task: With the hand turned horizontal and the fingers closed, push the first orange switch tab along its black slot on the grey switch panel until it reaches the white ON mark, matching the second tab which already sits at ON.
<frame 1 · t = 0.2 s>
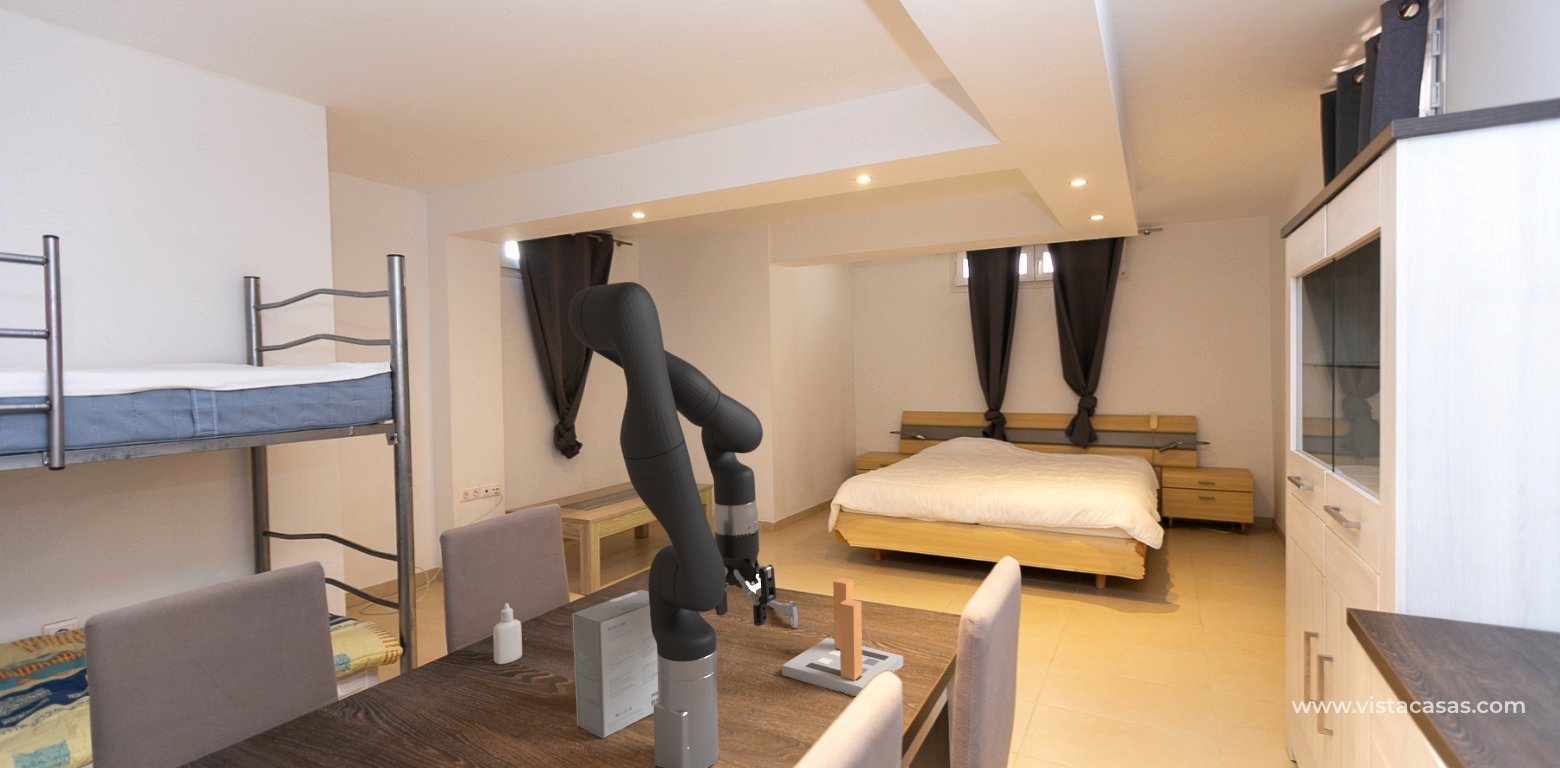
hand: (740, 619, 124), 18 cm above the table, tool pointing down, fingers open, 8 cm apart
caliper: (780, 616, 177), on the table
hard drive box: (625, 716, 127), on the table
switch tab 2: (843, 613, 150), point 9 cm above the table, slide at 8.0 cm
switch panel: (843, 670, 144), on the table
eye dropper bottle: (508, 660, 152), on the table
switch tab 1: (850, 639, 137), point 9 cm above the table, slide at 0.0 cm
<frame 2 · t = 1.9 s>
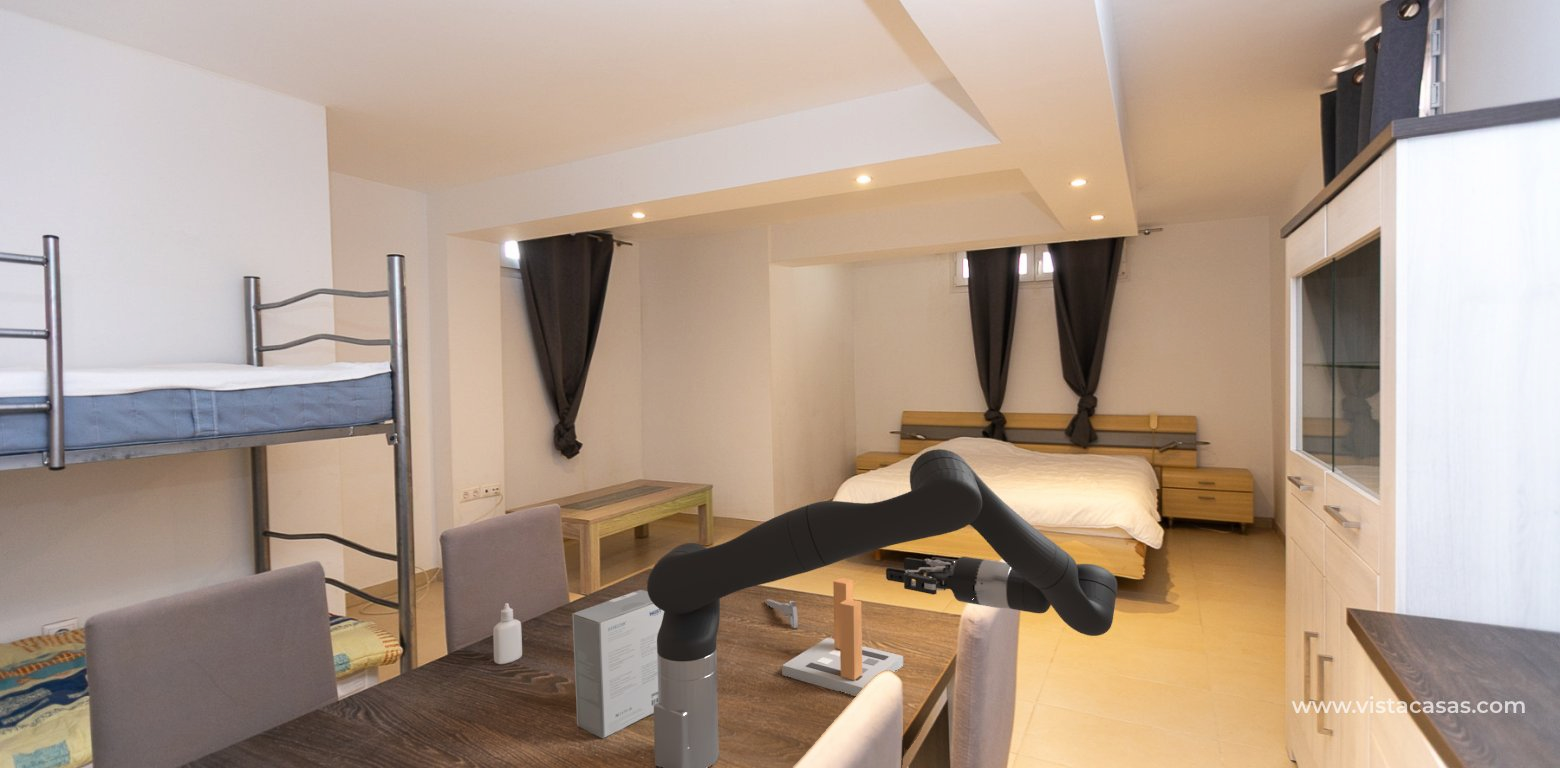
hand: (896, 568, 131), 24 cm above the table, tool horizontal, fingers open, 6 cm apart
nothing on the table moved.
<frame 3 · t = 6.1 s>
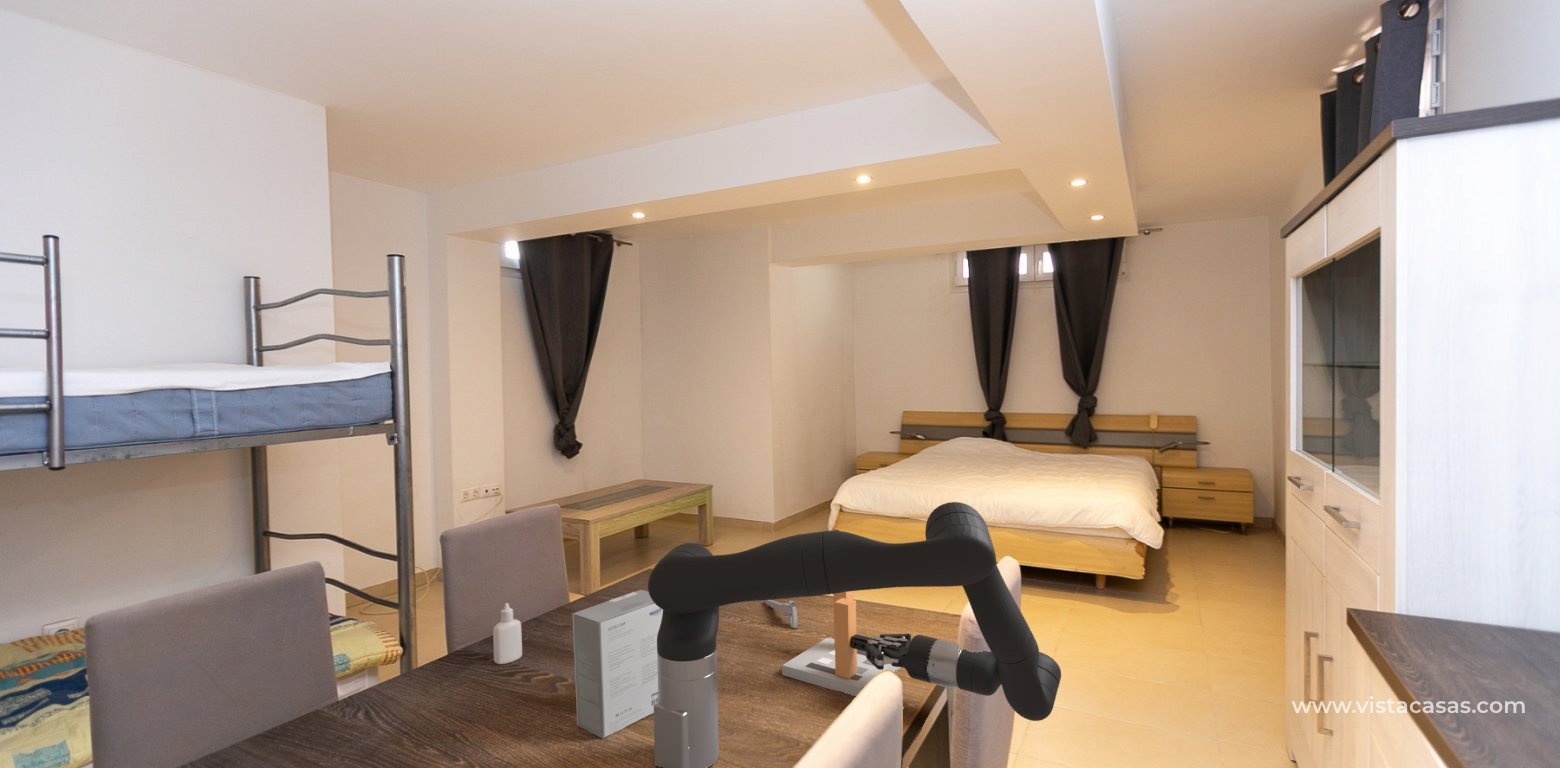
hand: (852, 640, 136), 9 cm above the table, tool horizontal, fingers closed
switch tab 1: (845, 637, 137), point 9 cm above the table, slide at 1.2 cm, touching gripper
everything else where it was.
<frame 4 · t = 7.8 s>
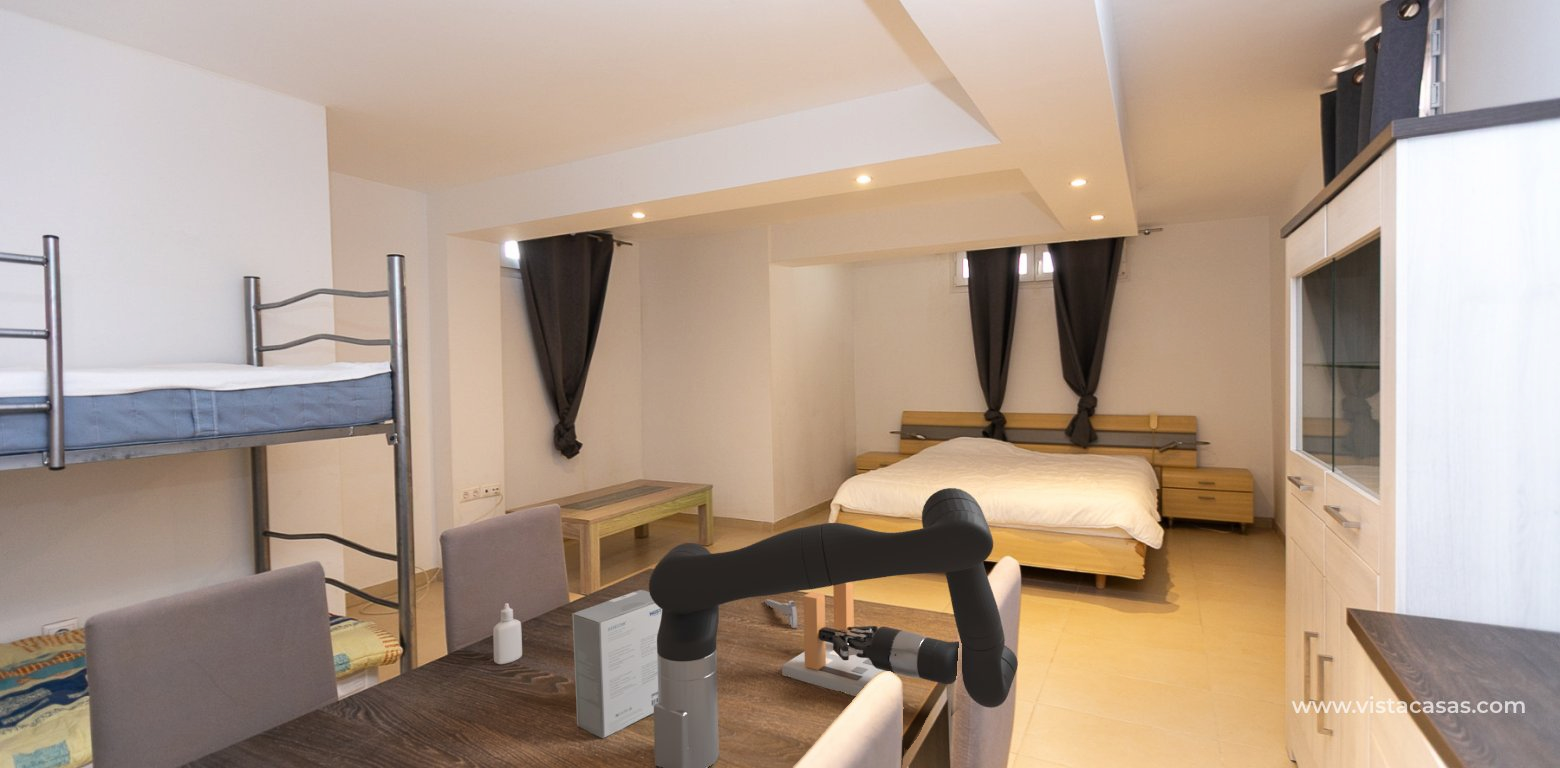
hand: (821, 633, 140), 9 cm above the table, tool horizontal, fingers closed
switch tab 1: (814, 630, 141), point 9 cm above the table, slide at 8.1 cm, touching gripper
everything else where it was.
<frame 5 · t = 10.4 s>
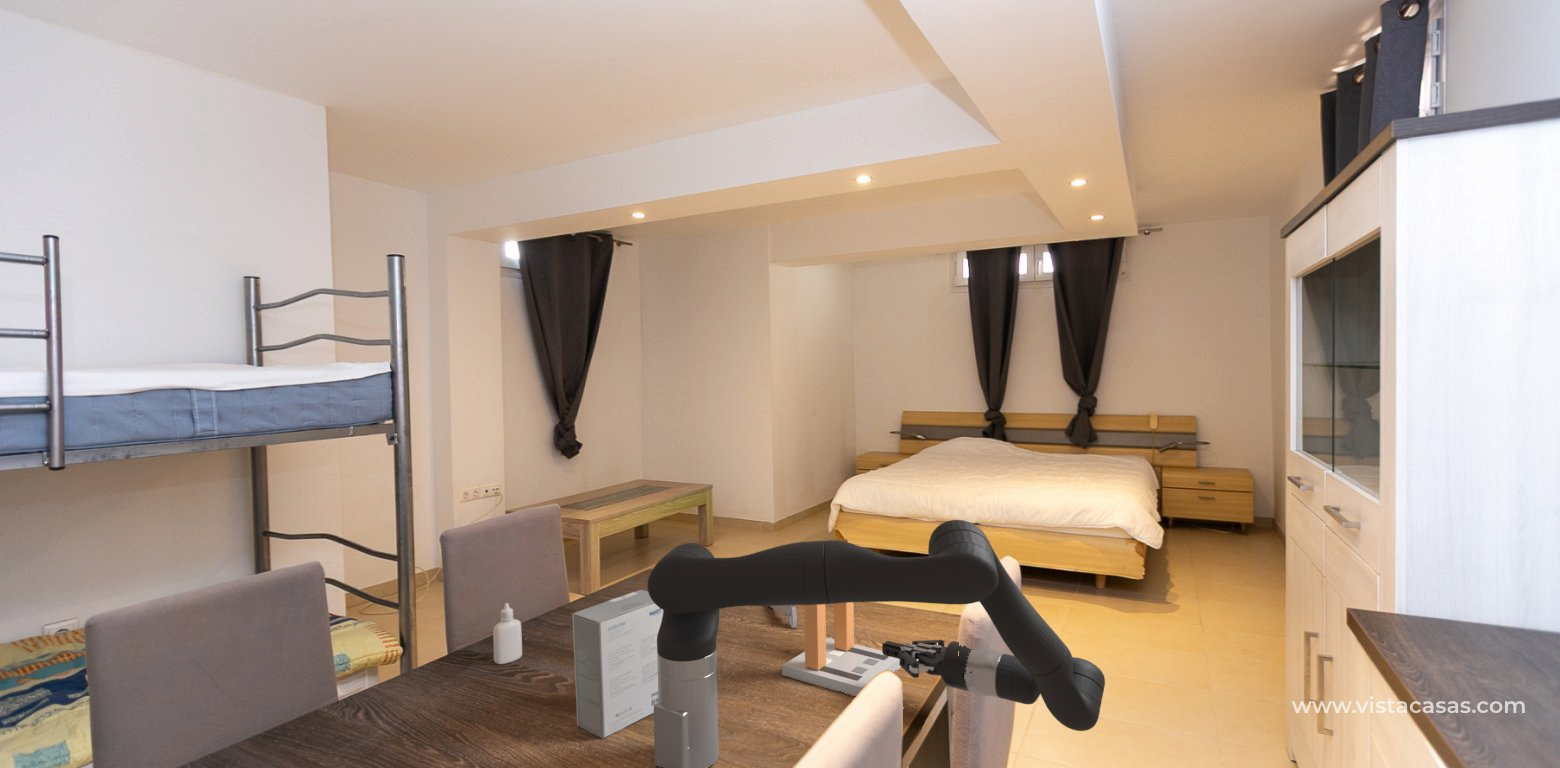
hand: (884, 647, 133), 9 cm above the table, tool horizontal, fingers closed
switch tab 1: (815, 630, 141), point 9 cm above the table, slide at 8.0 cm
everything else where it was.
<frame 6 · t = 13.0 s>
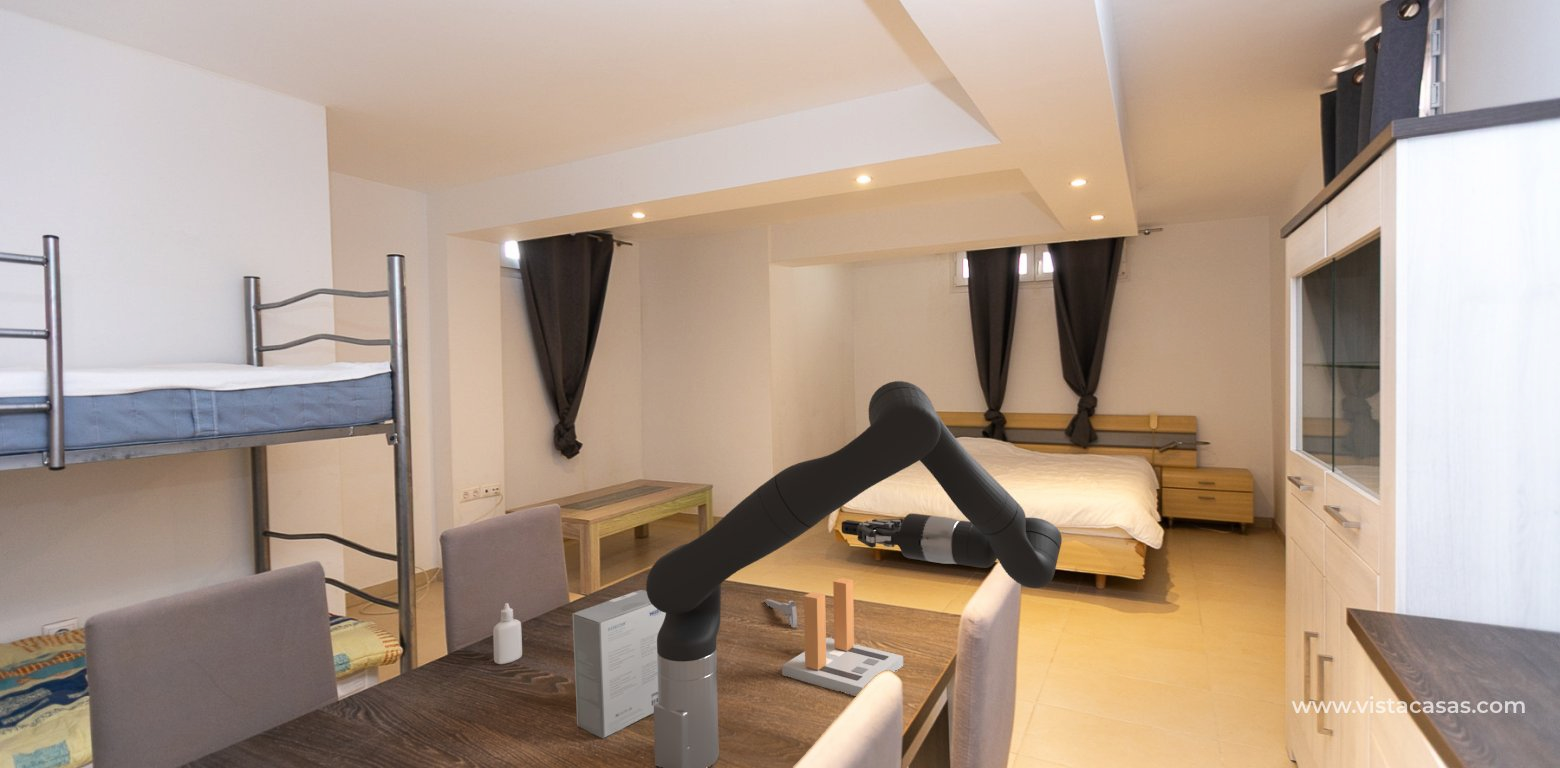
hand: (843, 526, 130), 32 cm above the table, tool horizontal, fingers closed
nothing on the table moved.
at the end: switch tab 1 slide at 8.0 cm; switch tab 2 slide at 8.0 cm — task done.
